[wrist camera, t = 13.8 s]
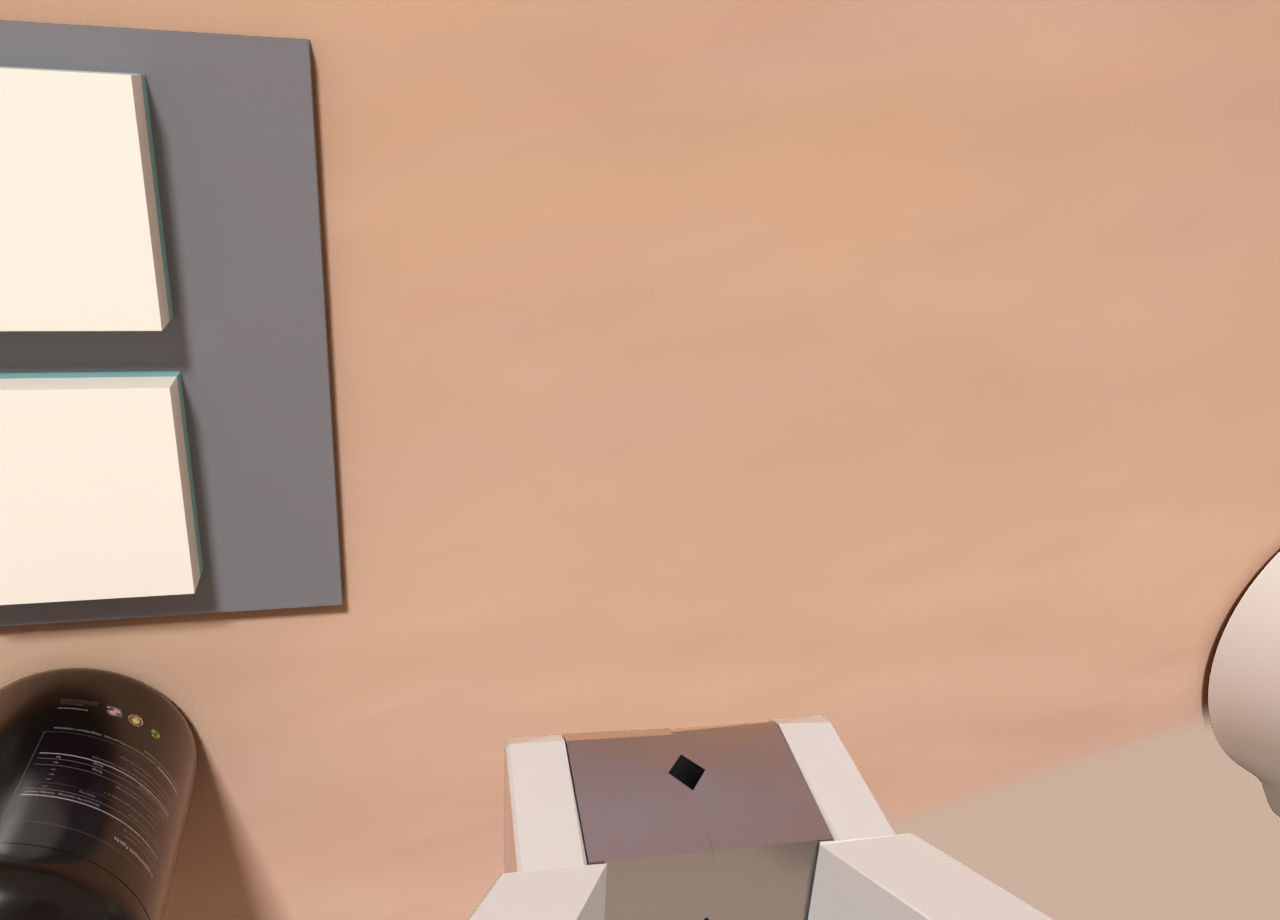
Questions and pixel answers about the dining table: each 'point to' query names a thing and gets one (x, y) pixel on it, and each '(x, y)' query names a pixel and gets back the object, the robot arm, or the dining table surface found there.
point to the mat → (220, 310)
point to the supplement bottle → (90, 796)
